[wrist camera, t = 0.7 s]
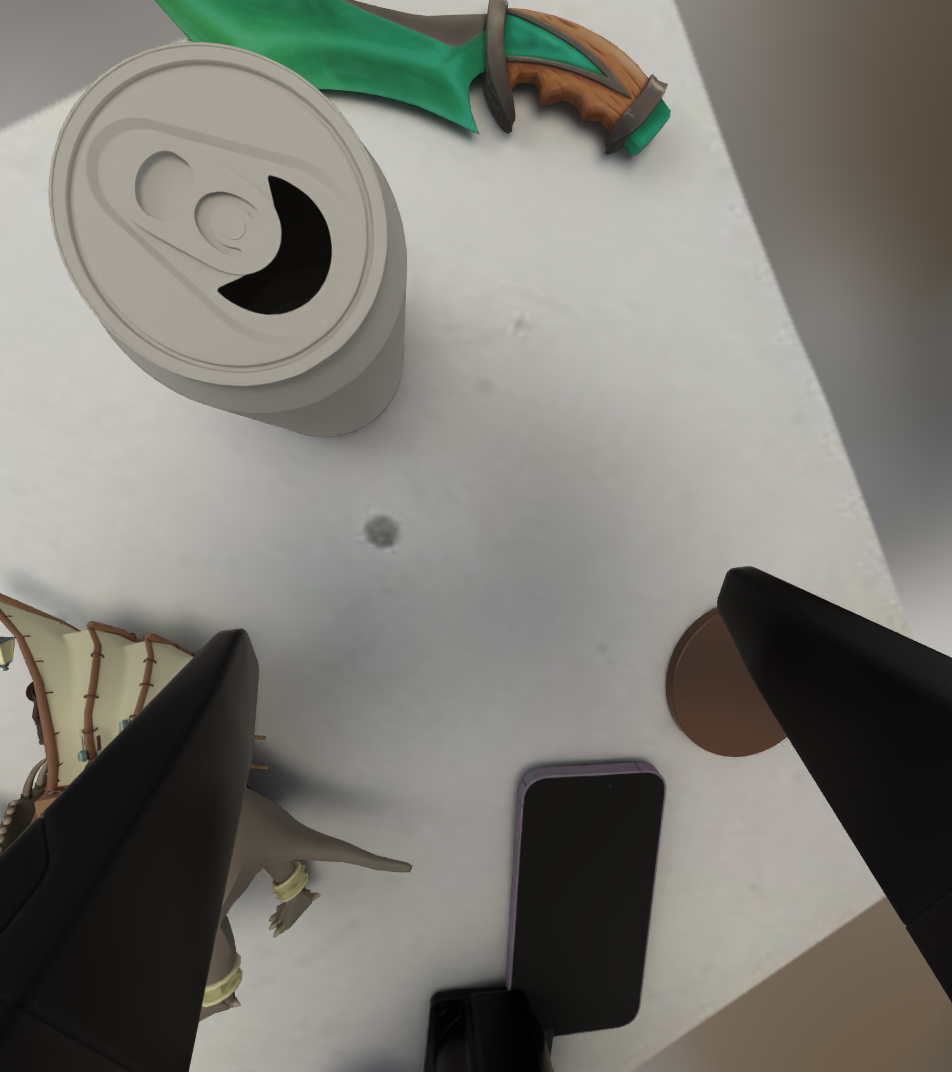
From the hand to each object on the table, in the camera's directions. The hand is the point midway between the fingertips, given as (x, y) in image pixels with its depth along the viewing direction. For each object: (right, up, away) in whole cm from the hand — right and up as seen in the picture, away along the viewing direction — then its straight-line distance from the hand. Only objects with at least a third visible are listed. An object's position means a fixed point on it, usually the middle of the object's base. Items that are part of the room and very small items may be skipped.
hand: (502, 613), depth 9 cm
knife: (-4, +17, +10) cm, 20 cm away
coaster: (+13, -6, +16) cm, 21 cm away
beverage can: (-7, +9, +11) cm, 16 cm away
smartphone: (+5, -17, +17) cm, 24 cm away
